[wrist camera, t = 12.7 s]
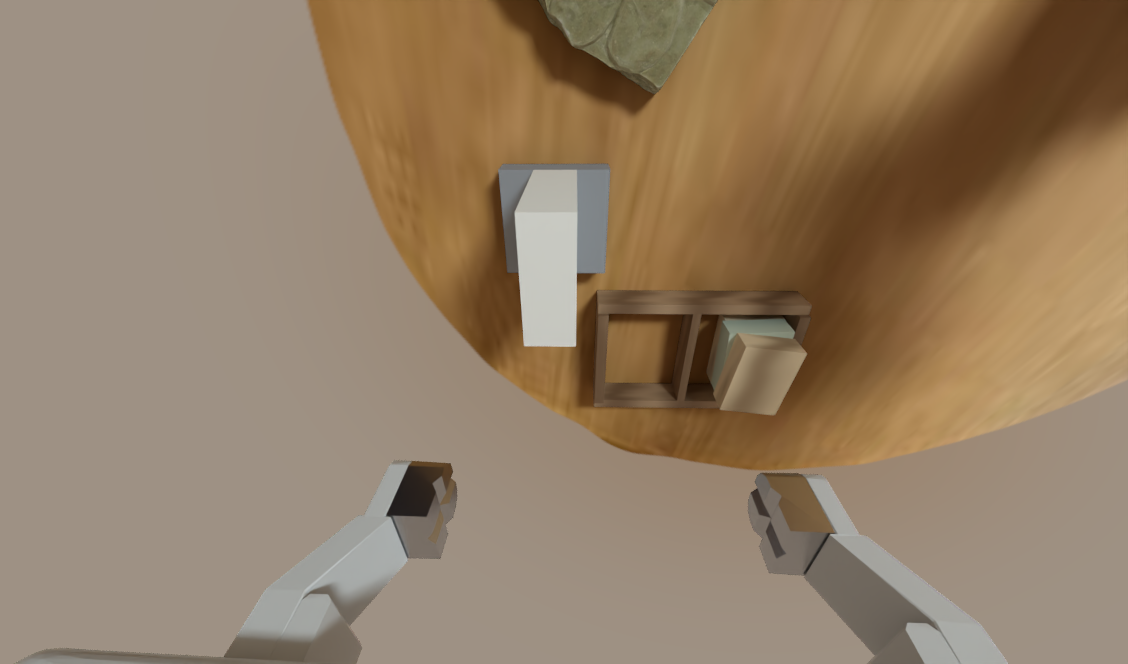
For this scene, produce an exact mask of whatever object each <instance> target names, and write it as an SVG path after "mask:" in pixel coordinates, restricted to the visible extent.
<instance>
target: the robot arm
mask: <svg viewBox="0 0 1128 664" xmlns="http://www.w3.org/2000/svg"><path fill="white" fill-rule="evenodd" d="M452 473H453V470H452V466H451V464H450V463H436V462H419V461H399V460H398V461H397V460H394V461H393V462H392V463H391V464H390V465H389V467H388V469H387V471H386V473H385V475H384V477H383V479H382V481H381V483H380V485H379V487H378V489H377V491H376V493H375V495H374V497H373V499H372V501H371V503H370V505H369V507H368V508H367V510H366V512H365V514H364V515H363V516H362V515H359V516H357V517H356V518H355V519H353V520H352V521H351V522H350V523H348V524H347V525H346V526H345V527H343V528H342V529H341V530H340V531H338V532H337V533H336V534H334V535H333V536H332V537H331V538H329V539H328V540H327V541H326V542H324V543H323V544H322V545H321V546H319V547H318V548H317V549H316V550H314V551H313V552H312V553H311V554H309V555H308V556H307V557H306V558H304V559H303V560H302V561H301V562H299V563H298V564H297V565H296V566H294V567H293V568H292V569H291V570H289V571H288V572H287V573H286V574H284V575H283V576H282V577H281V578H279V579H278V580H277V581H276V582H274V583H273V584H272V585H270V586H269V587H268V588H267V589H266V590H265V591H264V593H263V594H262V596H261V598H260V599H259V601H258V602H257V604H256V606H255V607H254V609H253V611H252V612H251V614H250V615H249V617H248V619H247V620H246V622H245V623H244V625H243V627H242V628H241V630H240V631H239V633H238V635H237V636H236V638H235V640H234V641H233V643H232V644H231V646H230V647H229V649H228V651H227V652H226V654H225V656H224V657H209V656H191V655H189V656H188V655H172V654H154V653H153V654H152V653H136V652H135V653H134V652H117V651H99V650H85V649H69V648H58V649H57V648H54V649H46V650H42V651H39V652H36V653H34V654H32V655H30V656H28V657H26V658H24V659H22V660H20V661H18V662H16V663H15V664H356V663H357V660H358V657H359V655H360V652H361V650H362V647H361V644H360V641H359V640H358V638H357V637H356V635H355V634H354V632H353V631H352V629H351V628H350V625H351V624H352V623H353V622H354V620H355V619H356V618H357V617H358V616H359V615H360V614H361V613H362V611H363V610H364V609H365V608H366V607H367V606H368V605H369V603H371V601H372V600H373V599H374V598H375V597H376V596H377V595H378V593H379V592H380V591H381V590H382V589H383V588H384V587H385V586H386V585H387V583H388V582H389V581H390V580H391V579H392V577H394V575H395V574H396V573H397V572H398V571H399V570H400V569H401V568H402V567H403V565H404V564H405V563H406V562H407V561H408V558H430V559H440V558H441V555H442V552H443V549H444V545H445V542H446V539H447V535H448V533H447V528H446V524H447V523H448V522H449V521H450V520H451V519H452V518H453V515H454V512H455V508H456V501H457V486H456V482H455V481H454V480H452V479H451V476H452ZM755 483H756V486H757V489H756V490H754V491H752V492H751V493H750V496H749V499H748V513H749V518H750V522H751V525H752V528H753V530H754V531H755V532H756V533H757V534H758V535H760V536H761V537H762V541H761V544H760V550H761V552H762V555H763V558H764V561H765V563H766V566H767V569H768V571H769V573H774V574H788V575H802V576H805V577H804V578H805V579H806V580H807V581H808V582H809V584H810V585H811V586H812V587H813V588H814V589H815V590H816V591H817V592H818V593H819V594H820V596H821V597H822V598H823V599H824V600H825V601H826V602H827V603H828V604H829V605H830V607H831V608H832V609H833V610H834V611H835V612H836V613H837V614H838V615H839V617H840V618H841V619H842V620H843V621H844V622H845V623H846V624H847V625H848V627H849V628H851V630H852V631H853V632H854V633H855V634H856V635H857V636H858V638H859V639H861V641H862V642H863V643H864V644H865V645H866V646H867V647H868V649H869V650H870V651H871V652H872V653H873V654H874V655H875V656H874V657H873V658H872V659H871V660H870V661H869V662H868V663H867V664H1008V662H1007V661H1006V660H1005V658H1004V657H1003V655H1002V654H1001V652H1000V651H999V650H998V648H997V647H996V646H995V644H994V643H993V641H992V640H991V638H990V637H989V635H988V634H987V633H986V631H985V630H984V628H983V627H982V626H981V625H980V624H979V623H978V622H977V621H975V620H974V619H973V618H972V617H970V616H969V615H968V614H966V613H965V612H964V611H963V610H961V609H960V608H959V607H957V606H956V605H955V604H954V603H952V602H951V601H950V600H948V599H947V598H946V597H944V596H943V595H942V594H940V593H939V592H938V591H937V590H935V589H934V588H933V587H932V586H930V585H929V584H928V583H926V582H925V581H924V580H923V579H921V578H920V577H919V576H917V575H916V574H915V573H914V572H912V571H911V570H910V569H908V568H907V567H906V566H905V565H903V564H902V563H901V562H899V561H898V560H897V559H896V558H894V557H893V556H892V555H890V554H889V553H888V552H887V551H885V550H884V549H883V548H881V547H880V546H879V545H877V544H876V543H875V542H874V541H872V540H871V539H870V538H868V537H867V536H865V535H859V533H858V531H857V530H856V528H855V526H854V525H853V523H852V521H851V520H850V518H849V516H848V515H847V513H846V512H845V510H844V508H843V506H842V505H841V503H840V501H839V500H838V498H837V496H836V495H835V493H834V491H833V489H832V488H831V486H830V484H829V483H828V481H827V480H826V478H825V477H824V476H822V475H818V474H798V473H797V474H796V473H760V474H759V475H757V478H756V480H755Z"/></svg>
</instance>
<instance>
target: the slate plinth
mask: <svg viewBox="0 0 1128 664" xmlns="http://www.w3.org/2000/svg"><path fill="white" fill-rule="evenodd" d="M533 170H577V273H605V260H606V241H607V221H608V202H609V182H610V168H609V165H608V164H503V165H502V166H501V167H500V168H499V170H498V171H499V183H500V194H501V205H502V217H503V228H504V240H505V251H506V263H507V273H519V269H518V255H517V241H516V226H515V210H516V208H517V206H518V203H519V201H520V199H521V197H522V194H523V192H524V190H525V188H526V186H527V183H528V181H529V179H530V177H531V174H532V172H533Z"/></svg>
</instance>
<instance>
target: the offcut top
mask: <svg viewBox="0 0 1128 664" xmlns="http://www.w3.org/2000/svg"><path fill="white" fill-rule="evenodd" d="M806 355H807V353H806V351H805V350H804V349H803V348H802V347H801V345H800V344H799V343H798V342H797V341H796V339H790V338H781V337H772V336H763V335H754V334H745V333H737V335H736V337H735V340H734V342H733V345H732V347H731V350H730V352H729V355H728V357H727V360H726V362H725V365H724V367H723V370H722V372H721V375H720V377H719V380H718V382H717V385H716V387H715V390H714V392H713V395H714V397H715V400H716V402H717V405H718V407H719V409H720V410H727V411H737V412H746V413H756V414H765V415H775V414H776V412H777V410H778V408H779V407H780V405H781V403H782V401H783V399H784V397H785V395H786V393H787V391H788V389H789V387H790V386H791V384H792V382H793V380H794V378H795V376H796V374H797V372H798V370H799V368H800V367H801V365H802V363H803V361H804V359H805V357H806Z"/></svg>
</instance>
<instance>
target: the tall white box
mask: <svg viewBox="0 0 1128 664" xmlns="http://www.w3.org/2000/svg"><path fill="white" fill-rule="evenodd" d="M515 226H516V241H517V255H518V269H519V283H520V297H521V311H522V325H523V339H524V346H566V347H576V296H577V170H533V172H532V174H531V177H530V179H529V181H528V183H527V186H526V188H525V190H524V192H523V194H522V197H521V199H520V201H519V203H518V206H517V208H516V210H515Z"/></svg>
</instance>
